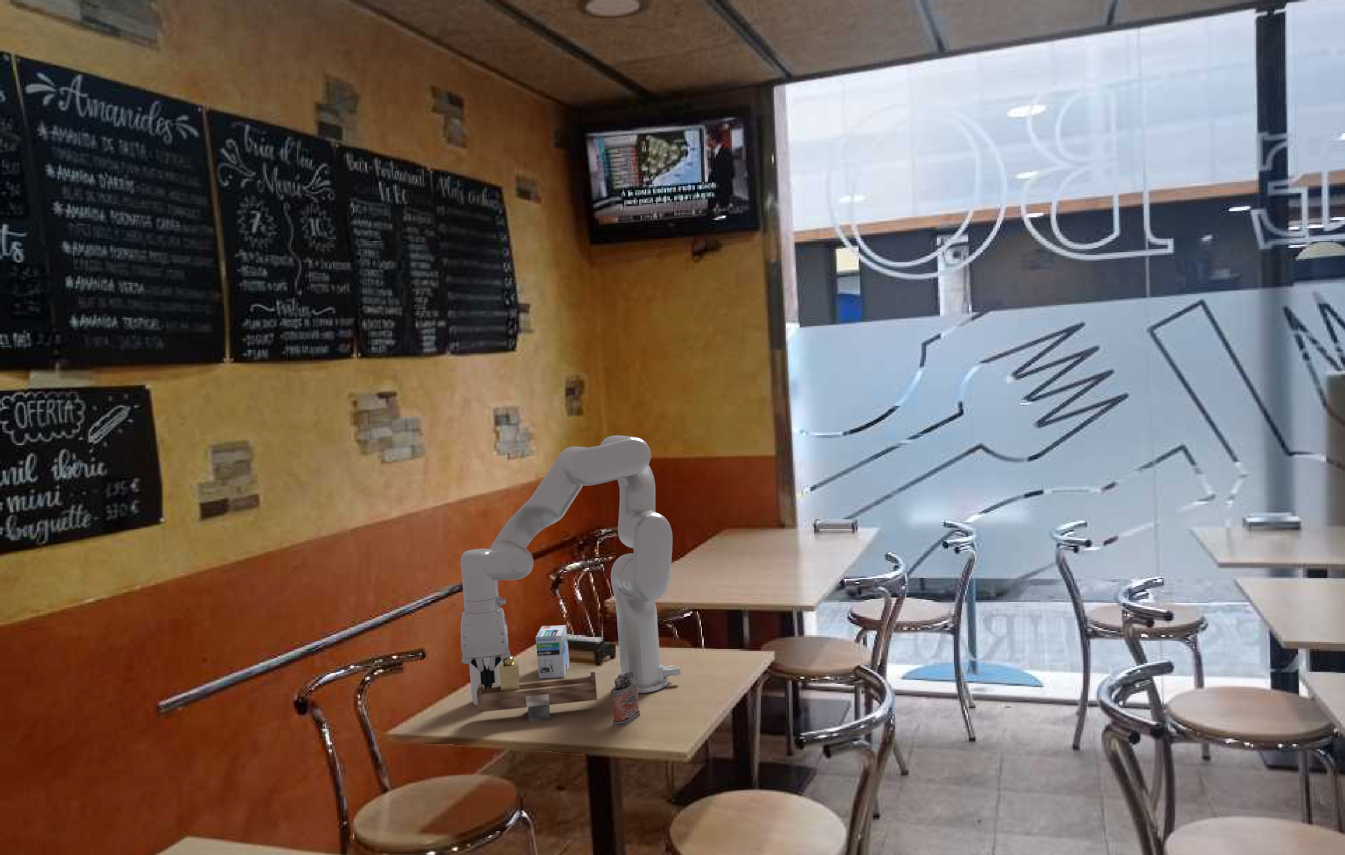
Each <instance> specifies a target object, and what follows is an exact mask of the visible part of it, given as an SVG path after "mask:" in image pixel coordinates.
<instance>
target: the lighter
mask: <svg viewBox="0 0 1345 855" xmlns="http://www.w3.org/2000/svg"><path fill="white" fill-rule="evenodd" d="M633 677H634V672H633V671H629V672H627V673H625V674H624V675H621V673H620V674H618V675H617V678H615V679H614V685H615V686H614V687H613V688H612V689H610V695H611V697H612V698H611V700H612V713H613V714H612V715H613V720H612V725H613V726H614V727H623V726H626V725H627V724H630V723H632V722H634V721H635V720H637V719H638V718H639V717H641V711H640V709H639V708H640V707H639V693H638V692H637V686H638V682H637V681H635V680H630V679H631V678H633Z"/></svg>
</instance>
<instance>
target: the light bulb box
mask: <svg viewBox="0 0 1345 855" xmlns="http://www.w3.org/2000/svg"><path fill="white" fill-rule="evenodd" d="M535 644H536V657H537V658H536V659H537V667H538V668H537V669H538V679H554V678H556V679H559V678H565V677H566V675H567V672H568V669H569V668H570V655H569V643H568V631H567V625H566V624H564V625H563V624H562V625H560V624H559V625H541V627H540V628H539V631H538V632H537V635H535Z"/></svg>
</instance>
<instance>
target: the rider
mask: <svg viewBox="0 0 1345 855" xmlns="http://www.w3.org/2000/svg"><path fill="white" fill-rule="evenodd" d="M519 669H520V667H519V661H515V658H514V656H513V655H511V656H510V658H504V659H503V663H500V666H499V671H500V683H501V692H503V691H512V690H520V683H521V680H520V670H519Z"/></svg>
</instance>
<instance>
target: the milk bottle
mask: <svg viewBox="0 0 1345 855" xmlns="http://www.w3.org/2000/svg"><path fill="white" fill-rule="evenodd" d="M483 660H484V664H485V666H486V668H487V670H488V666H489V661H490V657H485V658H483ZM500 663H503V661H501V662H500ZM500 663H499V664H498V665H497V666H496V667H495V668H494V673H495V683H493V685H492V686H496V685H501V683H500V671H499V666H500ZM468 665H469V676H470V677H469V678H470V680H469V681H470V688H471V689H470V690H471V698H472V699H471V701H472V703H473V705H475V706H477V707H478V701H477V689H478V686H479V684H481V677H480V671H479V670H478V669H477V668H476V667H475V666H473V665H472V664H468Z"/></svg>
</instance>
